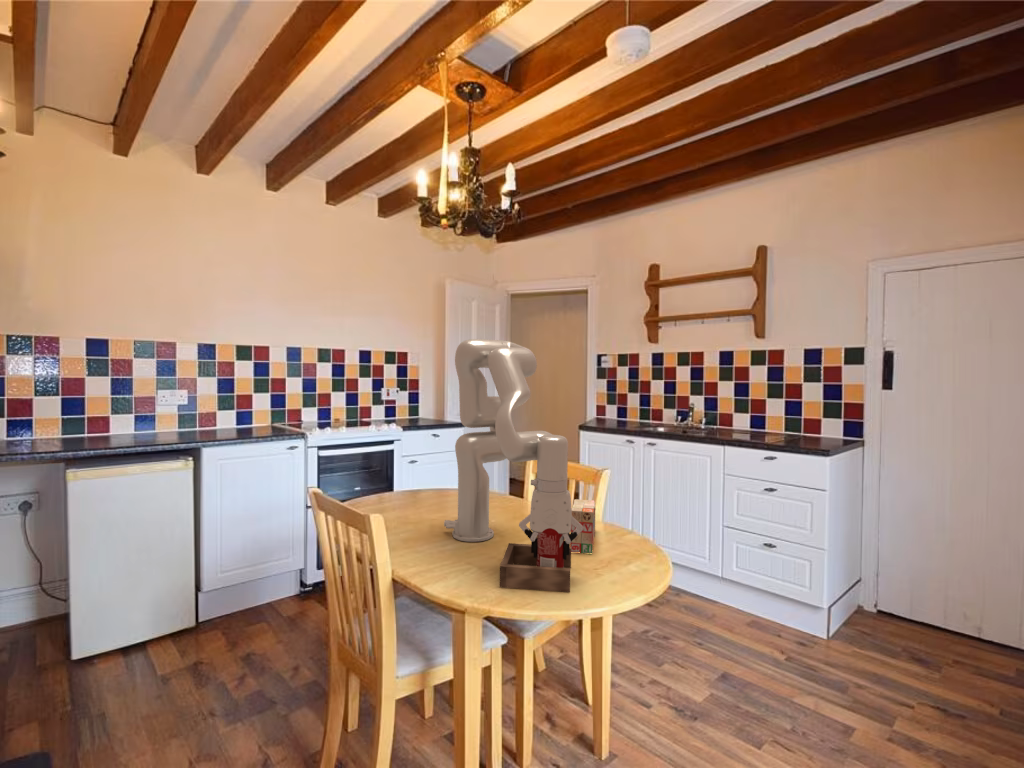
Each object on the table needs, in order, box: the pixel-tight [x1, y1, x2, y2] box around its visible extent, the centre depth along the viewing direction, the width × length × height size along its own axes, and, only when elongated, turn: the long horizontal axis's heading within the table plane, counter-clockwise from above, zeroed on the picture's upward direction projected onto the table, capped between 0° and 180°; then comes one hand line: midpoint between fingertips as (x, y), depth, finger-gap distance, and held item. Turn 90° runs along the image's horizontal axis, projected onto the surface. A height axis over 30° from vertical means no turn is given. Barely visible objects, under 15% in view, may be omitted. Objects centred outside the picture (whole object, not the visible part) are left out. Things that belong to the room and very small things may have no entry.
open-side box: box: [499, 542, 572, 593], centre depth 128 cm, size 16×16×5 cm
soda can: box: [537, 525, 565, 568], centre depth 127 cm, size 7×7×12 cm
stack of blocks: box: [570, 498, 596, 554], centre depth 154 cm, size 21×6×12 cm, turn 169°
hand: (550, 556), depth 128 cm, fingers closed on soda can, 6 cm apart
